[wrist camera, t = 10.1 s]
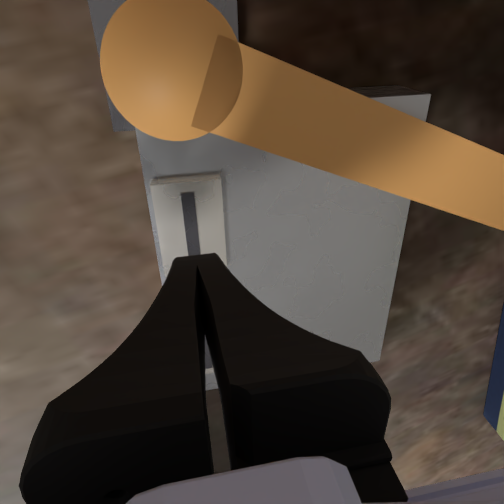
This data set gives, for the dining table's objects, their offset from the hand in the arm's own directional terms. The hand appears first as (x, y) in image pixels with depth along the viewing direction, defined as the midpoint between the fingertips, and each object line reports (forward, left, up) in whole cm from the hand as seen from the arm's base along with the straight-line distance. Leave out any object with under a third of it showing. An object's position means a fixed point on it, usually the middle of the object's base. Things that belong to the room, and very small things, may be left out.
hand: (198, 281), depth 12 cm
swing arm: (+4, -6, -3) cm, 7 cm away
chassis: (-3, -4, -6) cm, 8 cm away
